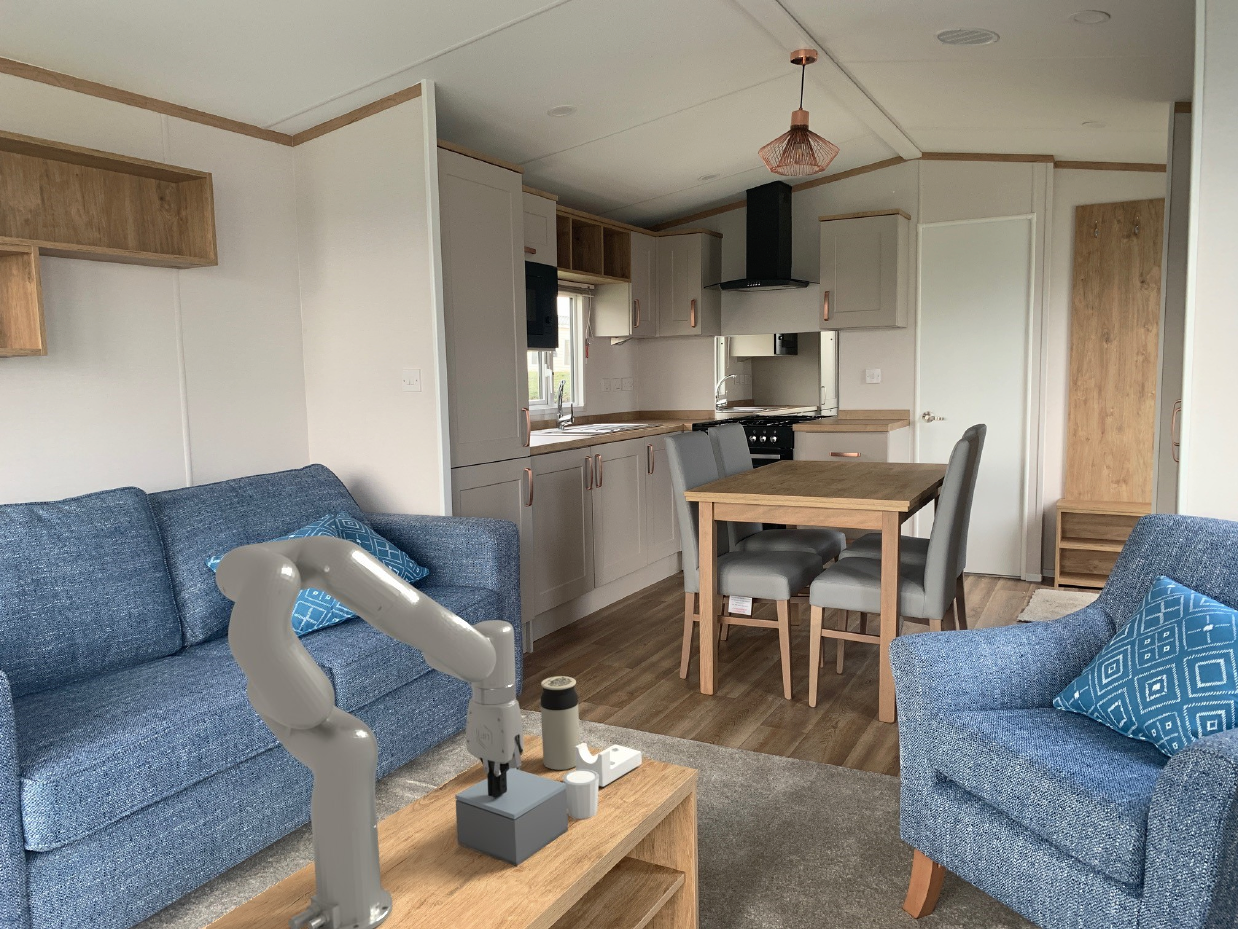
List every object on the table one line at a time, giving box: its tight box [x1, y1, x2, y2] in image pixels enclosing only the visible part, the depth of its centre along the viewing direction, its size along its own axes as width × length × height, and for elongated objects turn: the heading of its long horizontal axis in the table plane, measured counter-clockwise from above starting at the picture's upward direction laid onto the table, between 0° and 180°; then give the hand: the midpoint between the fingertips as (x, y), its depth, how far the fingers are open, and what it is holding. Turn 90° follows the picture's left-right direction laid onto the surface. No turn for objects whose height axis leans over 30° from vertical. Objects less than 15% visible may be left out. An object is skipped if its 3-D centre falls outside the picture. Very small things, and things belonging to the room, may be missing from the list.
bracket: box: [575, 742, 642, 787], centre depth 181 cm, size 13×7×8 cm, turn 142°
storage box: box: [455, 789, 569, 867], centre depth 157 cm, size 14×14×8 cm
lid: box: [454, 768, 566, 819], centre depth 156 cm, size 14×14×1 cm
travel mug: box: [540, 675, 581, 771], centre depth 187 cm, size 8×8×18 cm
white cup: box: [562, 769, 599, 820], centre depth 165 cm, size 7×7×7 cm
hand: (497, 793), depth 153 cm, fingers closed
